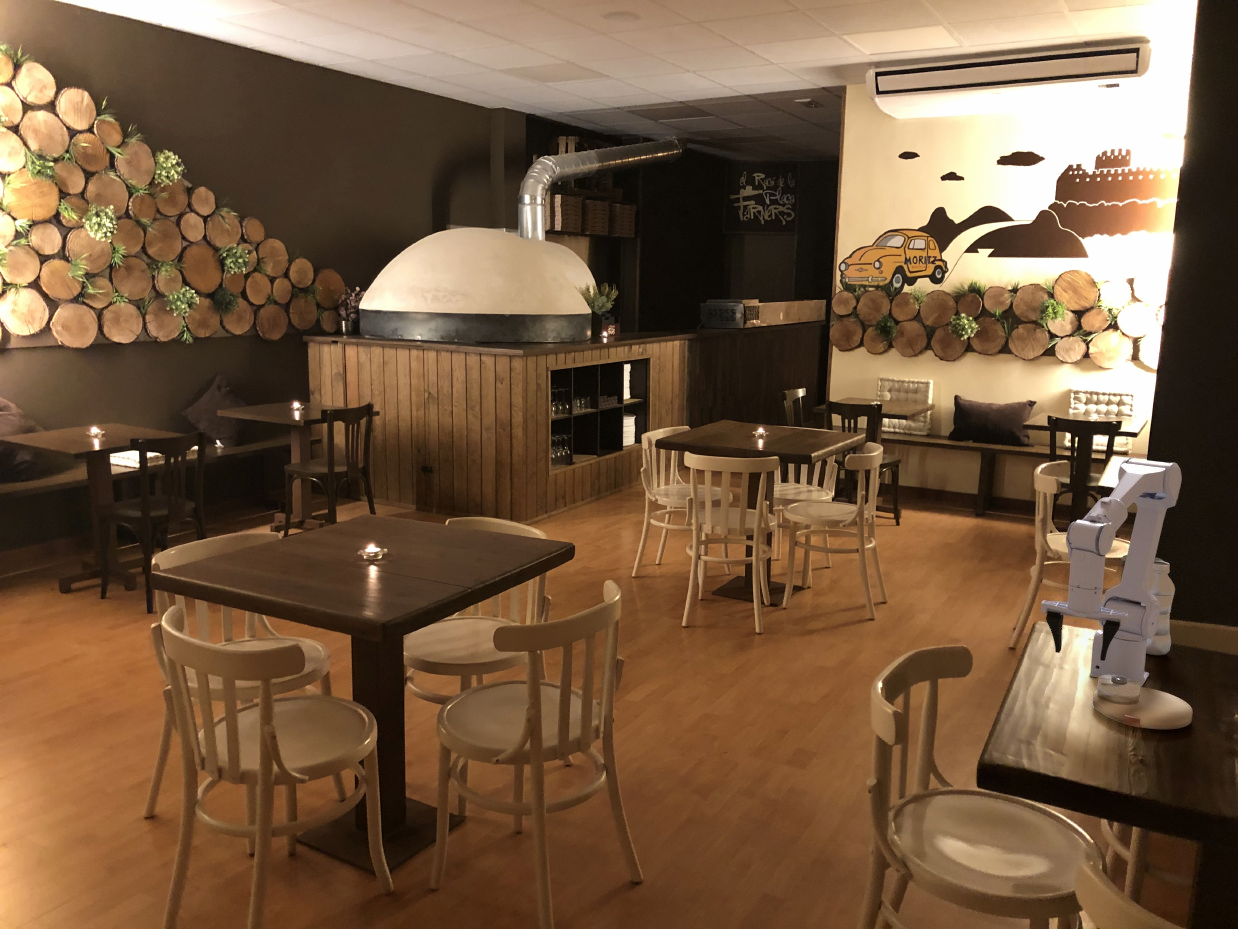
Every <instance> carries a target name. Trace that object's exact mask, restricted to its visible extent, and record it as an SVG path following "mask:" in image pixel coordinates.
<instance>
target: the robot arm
mask: <svg viewBox="0 0 1238 929" xmlns="http://www.w3.org/2000/svg"><path fill="white" fill-rule="evenodd" d="M1118 468H1119V469H1118V474H1117V480H1118V483H1117V484H1116V486H1115V487H1114V489H1113V491H1112V492H1111V493H1110V495H1109V497H1108V496H1107V497H1106V496H1105V497H1102V498H1100V499H1098V501H1097V502H1096V503H1095V504H1094V506H1092V507H1091V509H1090V510H1089V512H1088V513H1086V514H1085V516H1084V517H1083V518H1082V519H1077V520H1076V521H1073V522H1071V523H1070V524H1069V526H1068V528H1067V531H1066V536H1065V544H1066V547H1067V558H1068V559H1069V560H1070V562H1069V563H1070V564H1069V579H1068V589H1067V590H1068V591H1067V593H1068V594H1067V601H1050V600H1045V599H1044V600H1042V601H1041V603H1040V604H1041V605H1040V613H1041V614H1046V616H1045V622H1046V623H1047V625H1048V627H1049V630H1050V633H1051V636H1052V639H1053V643H1054V649H1055V651H1054V652H1055V653H1057V654H1060V653H1061V651H1062V645H1063V643H1062V641H1063V635H1062V634H1063V624H1064V616H1068V617H1073V618H1074V617H1075V618H1081V619H1087V620H1091V621H1093V620H1094V621H1098V623H1099V626H1100V627H1101V628H1102V629H1097V630H1095V633H1094V635H1093V641H1092V645H1091V646H1092V648H1091V649H1092V650H1091V658H1090V659H1091V661H1090V662H1091V663H1090V672H1089V677H1093V678H1097V679H1098V677H1100V676H1102V675H1120V676H1125V677H1129V678H1132V679H1134V680H1136V681H1138V682H1139V683H1140V687H1143V685H1144V683H1145V682H1146V680H1147V679H1148V678H1149V676H1150V673H1149V671H1145V667H1146V645H1147V639H1149V638H1151V637H1152V636H1153V635H1154V634H1155V633H1156V631H1157V629H1158V626H1159V611H1160V603H1159V601H1158V600H1157V599H1156V598H1155V597H1154V595H1153V594H1152V593H1151V592H1150V591H1149V590H1148V586H1149V581H1150V577H1151V573H1152V568H1153V564H1154V560H1155V557H1156V554H1157V551H1158V546H1159V542H1160V536H1161V533H1162V528H1163V523H1164V520H1165V517H1166V512H1167V509H1169V508H1170V509H1171V508H1172V507H1175V506H1176V505H1177V501H1178V499H1179V494H1180V489H1181V484H1182V476H1183V475H1182V471H1181V468H1180V466H1179V465H1178V463H1176V462H1163V461H1155V460H1154V461H1153V460H1148V459H1139V458H1138V459H1137V458H1133V457H1126V458H1125V459H1124V460H1123V461H1122V462H1121V464H1120V466H1119V467H1118ZM1133 503H1135V505H1136V508H1137V511H1136V515H1135V520H1134V524H1133V528H1132V533H1131V538H1130V541H1129V546H1128V550H1127V553H1126V555H1127V558H1126V562H1125V566H1124V571H1123V570H1122V573H1123V575H1122V574H1121V575H1122V576H1121V580H1120V583H1119V584H1116V585H1114V586H1112V587H1110V588H1108V589H1106V590H1105V593H1104V595H1103V591H1104V590H1103V589H1104V577H1105V566H1106V555H1108V553H1110V551H1111V549H1112V547H1113V543H1114V540H1115V539H1116V532H1117V531H1118V530H1119V528H1120V527H1121V526H1122V525H1123V523H1125V521H1126V520H1127V519H1128V516H1129V515H1128V508H1129V507H1130V506H1131V505H1132V504H1133ZM1120 599H1127V600H1131V601H1135V602H1140V603H1143V604H1144V605H1145V606H1143V605H1139V604H1134V603H1130V602H1125V601H1121V600H1120Z"/></svg>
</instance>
